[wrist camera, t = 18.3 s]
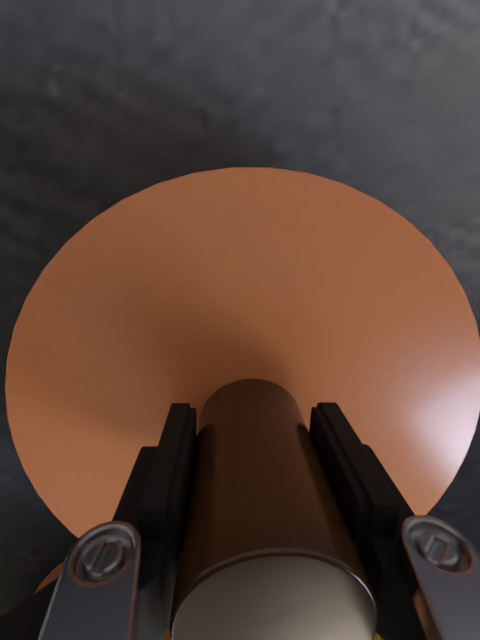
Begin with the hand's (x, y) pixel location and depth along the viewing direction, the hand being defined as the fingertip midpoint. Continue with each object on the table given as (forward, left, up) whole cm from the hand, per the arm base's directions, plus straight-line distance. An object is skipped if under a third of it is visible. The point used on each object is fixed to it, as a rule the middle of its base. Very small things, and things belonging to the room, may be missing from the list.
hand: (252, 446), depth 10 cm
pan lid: (0, 0, -2) cm, 2 cm away
